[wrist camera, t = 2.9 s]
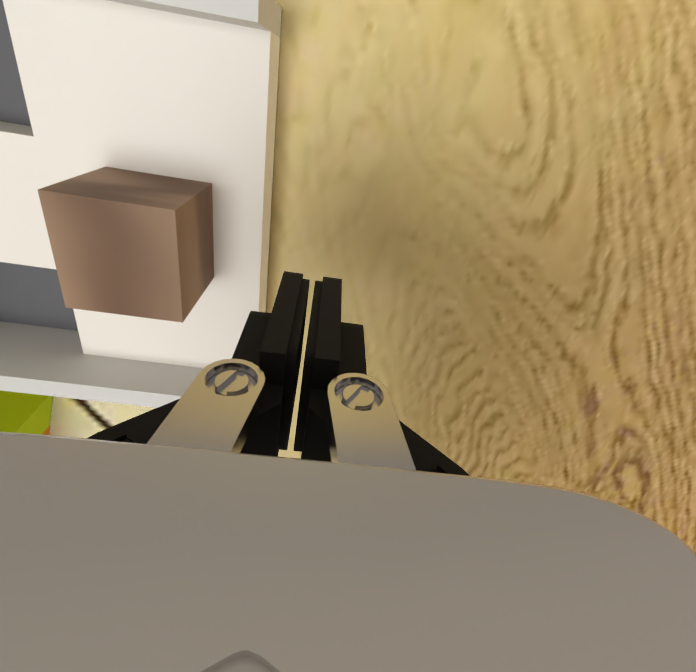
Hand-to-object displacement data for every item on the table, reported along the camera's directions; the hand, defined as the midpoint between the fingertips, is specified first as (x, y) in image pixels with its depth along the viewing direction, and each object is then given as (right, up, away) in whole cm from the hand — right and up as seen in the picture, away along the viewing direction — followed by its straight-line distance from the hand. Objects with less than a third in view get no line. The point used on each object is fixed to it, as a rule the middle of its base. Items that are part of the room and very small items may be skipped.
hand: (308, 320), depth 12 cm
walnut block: (-7, +5, +7) cm, 11 cm away
